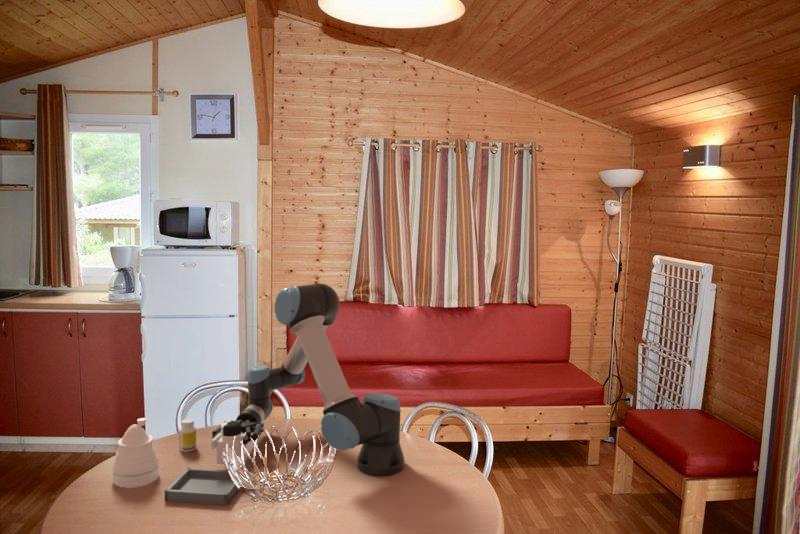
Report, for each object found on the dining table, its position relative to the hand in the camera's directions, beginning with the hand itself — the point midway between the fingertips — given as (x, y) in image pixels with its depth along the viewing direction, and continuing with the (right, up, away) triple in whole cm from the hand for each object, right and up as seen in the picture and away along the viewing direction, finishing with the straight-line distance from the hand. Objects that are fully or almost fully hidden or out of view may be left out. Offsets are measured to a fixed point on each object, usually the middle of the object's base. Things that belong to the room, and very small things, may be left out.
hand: (225, 445), depth 191 cm
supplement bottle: (-18, -7, +20) cm, 29 cm away
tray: (-3, -11, -9) cm, 14 cm away
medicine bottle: (0, -6, +6) cm, 8 cm away
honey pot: (-26, -10, -2) cm, 28 cm away
